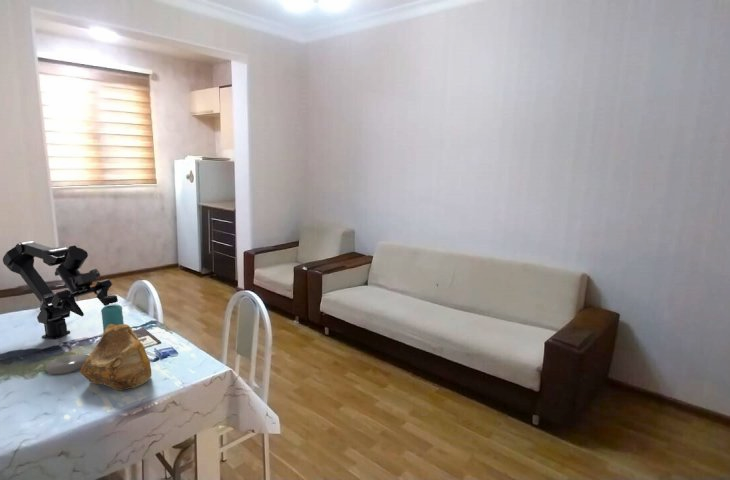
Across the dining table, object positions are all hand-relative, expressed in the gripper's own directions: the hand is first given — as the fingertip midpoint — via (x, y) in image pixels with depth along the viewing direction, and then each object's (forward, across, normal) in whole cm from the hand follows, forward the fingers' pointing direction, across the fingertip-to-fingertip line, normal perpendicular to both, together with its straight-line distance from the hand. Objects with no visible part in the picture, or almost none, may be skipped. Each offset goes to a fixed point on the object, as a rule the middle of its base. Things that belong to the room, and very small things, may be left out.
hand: (96, 311), depth 147 cm
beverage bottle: (+15, 0, +4) cm, 16 cm away
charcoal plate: (+13, -13, +6) cm, 19 cm away
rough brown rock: (+28, -13, -9) cm, 32 cm away
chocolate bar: (+15, +11, +5) cm, 19 cm away
